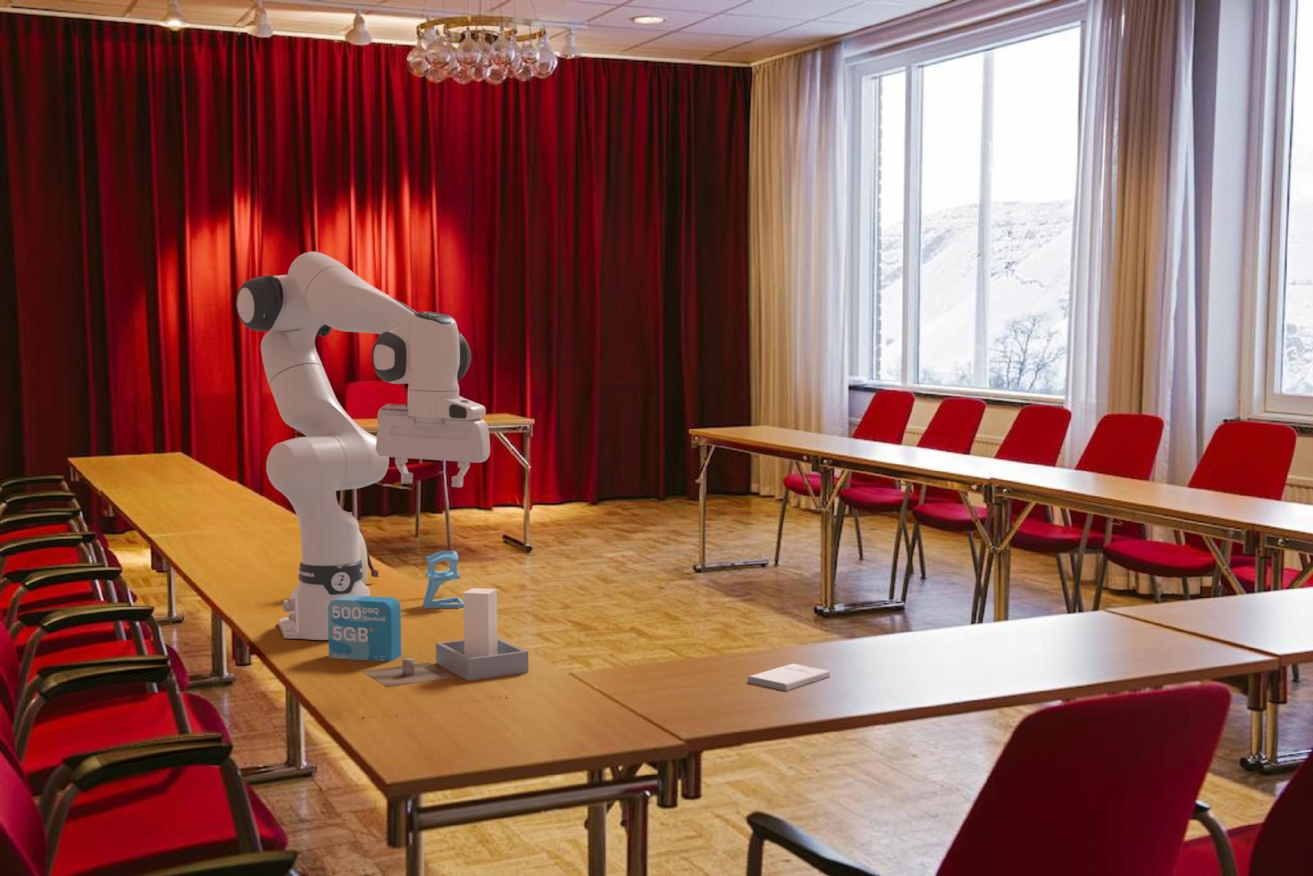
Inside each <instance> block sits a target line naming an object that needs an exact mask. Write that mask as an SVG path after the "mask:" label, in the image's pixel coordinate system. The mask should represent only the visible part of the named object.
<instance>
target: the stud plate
mask: <svg viewBox="0 0 1313 876" xmlns="http://www.w3.org/2000/svg"><path fill="white" fill-rule="evenodd" d="M401 661H402V662H401V666H400V665H398V666H393V667H385V668H377V669H375V668H374V669H370V670H362V673H363V674H365V675H367V676H368V677H370V678H372V679H373V680H374V681H376V682H378V683H380V684H381V685H383V686H384V687H385V688H392V687H399V686H406V685H412V684H420V683H426V682H427V683H428V682H434V681H441V680H449V679H454V678H455V679H456V676H454V675H452V674H450V673H449V672H447V671H445V670H443V669H441V668H440V667H438V666H437V665H434V664H432V663H430V662H422V663H415V659H414V658H412V657H409V658H408V657H407V658H402V659H401Z"/></svg>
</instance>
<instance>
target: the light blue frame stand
mask: <svg viewBox="0 0 1313 876" xmlns="http://www.w3.org/2000/svg"><path fill="white" fill-rule="evenodd" d="M425 558H426V559H425V560H426V561H427V564H428V569H427V571H425V577H427V579H428V582H427V583H428V584H427V587H426V591H425V595H424V599H423V603H422V604H423V605H422V606H423V607H424V609H464V600H462V599H461V598H460V597H457V596H456V597H448V598H441V599H435V600H434V598H435V596H436V594H437V592H438V590H439V589H440V587H441V585H442V584H444V583H446V582H450V581H452V580H460V579H461V574H459V573H458V571H457V568H458V564H459V554H458V552H457V551H456V550H455V551H454V550H453V549H452V550H441V551H438V552H436V553H434V554H432V555H430V556H429V555H428V556H426V557H425ZM445 561H446V562H449V570H443V571H442V570H440V571H436V568H435V565H436V564H438V563H441V562H445ZM447 602H449V603H447Z"/></svg>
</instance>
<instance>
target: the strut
mask: <svg viewBox="0 0 1313 876" xmlns="http://www.w3.org/2000/svg"><path fill="white" fill-rule="evenodd" d="M463 602H464V608H463V638H464V639H463V640H464V655H466V656H468V657H470V658H475V657H482V656H490V655H497V654H498V638H499V637H498V589H497V588H480V587H478V588H477V587H472V588H470V589H469V590H466V591H464V592H463Z"/></svg>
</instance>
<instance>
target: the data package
mask: <svg viewBox="0 0 1313 876" xmlns="http://www.w3.org/2000/svg"><path fill="white" fill-rule="evenodd" d="M401 608H402V607H401V603H400V601H399V600H398V599H397V598H396V597H391V596H390V597H389V596H371V595H370V596H352V595H345V596H342V597H339V598H337V599H335V600H332V601H331V602H330V603H329V605H328V640H327V641H328V658H329V659H343V660H357V661H358V660H360V661H361V660H362V661H377V662H393V661H395V660H396V659H398V658H400V657H402V619H401V618H402V614H401V613H402V611H401Z"/></svg>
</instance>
